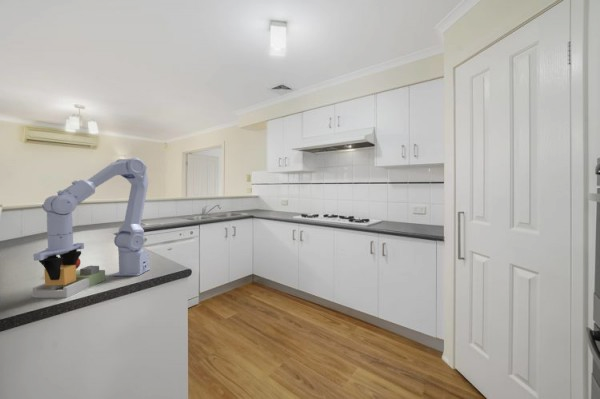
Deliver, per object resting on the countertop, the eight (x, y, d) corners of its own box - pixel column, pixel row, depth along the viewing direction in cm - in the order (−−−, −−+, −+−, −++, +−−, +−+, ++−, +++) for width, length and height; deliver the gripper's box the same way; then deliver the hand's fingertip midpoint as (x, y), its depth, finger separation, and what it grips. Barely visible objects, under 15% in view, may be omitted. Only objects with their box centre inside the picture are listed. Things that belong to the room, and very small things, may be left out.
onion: (68, 275, 94) (67, 254, 94) (56, 274, 95) (55, 254, 95) (84, 271, 100) (83, 251, 99) (72, 270, 101) (72, 250, 101)
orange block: (76, 280, 81) (75, 265, 81) (64, 285, 77) (64, 268, 77) (57, 280, 81) (56, 265, 81) (45, 285, 77) (44, 269, 77)
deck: (105, 279, 90) (104, 264, 90) (67, 297, 75) (66, 279, 75) (77, 279, 90) (76, 264, 90) (33, 297, 75) (32, 279, 75)
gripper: (68, 230, 86) (69, 269, 86) (21, 238, 71) (23, 285, 72) (89, 230, 86) (90, 269, 86) (47, 238, 71) (48, 285, 72)
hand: (61, 277), depth 79 cm, fingers closed on orange block, 4 cm apart
